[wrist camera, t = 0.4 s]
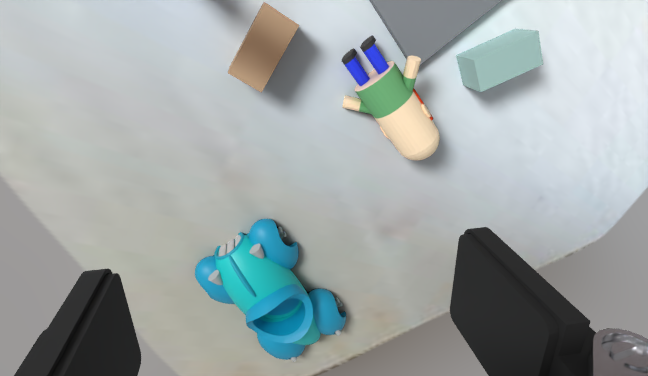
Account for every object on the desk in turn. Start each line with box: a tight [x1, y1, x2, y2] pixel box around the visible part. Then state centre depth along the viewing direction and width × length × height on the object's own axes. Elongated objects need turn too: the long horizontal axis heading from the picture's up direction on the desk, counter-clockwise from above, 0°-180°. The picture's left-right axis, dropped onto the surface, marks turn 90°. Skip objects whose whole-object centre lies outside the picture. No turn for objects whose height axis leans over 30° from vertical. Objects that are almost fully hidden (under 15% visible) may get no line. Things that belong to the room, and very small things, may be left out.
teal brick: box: [456, 29, 543, 92], centre depth 37 cm, size 6×3×4 cm, turn 112°
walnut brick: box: [228, 2, 299, 92], centre depth 33 cm, size 6×3×4 cm, turn 147°
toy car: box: [195, 219, 346, 362], centre depth 43 cm, size 11×18×7 cm, turn 31°
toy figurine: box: [342, 35, 439, 161], centre depth 37 cm, size 8×4×12 cm
